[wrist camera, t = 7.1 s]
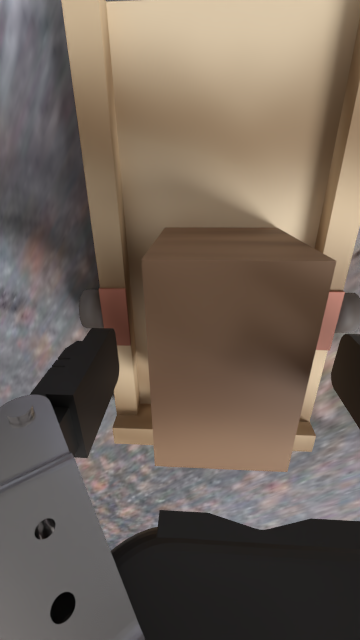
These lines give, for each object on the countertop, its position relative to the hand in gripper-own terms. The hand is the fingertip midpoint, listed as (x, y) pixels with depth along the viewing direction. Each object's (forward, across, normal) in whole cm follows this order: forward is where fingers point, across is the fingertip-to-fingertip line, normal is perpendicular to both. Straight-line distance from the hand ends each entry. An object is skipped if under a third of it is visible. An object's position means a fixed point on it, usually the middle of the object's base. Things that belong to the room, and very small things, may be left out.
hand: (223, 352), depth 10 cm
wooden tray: (+6, 0, -2) cm, 6 cm away
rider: (+4, 0, 0) cm, 5 cm away
